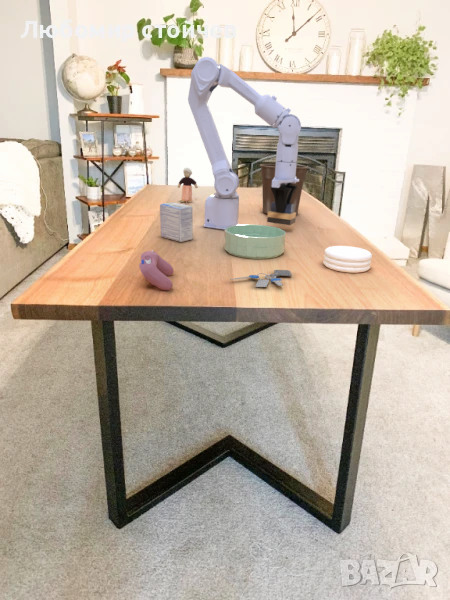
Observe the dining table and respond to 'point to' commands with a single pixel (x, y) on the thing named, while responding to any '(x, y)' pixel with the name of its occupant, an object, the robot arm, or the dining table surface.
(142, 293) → the dining table surface
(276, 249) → the bowl
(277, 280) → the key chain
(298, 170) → the plant pot
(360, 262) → the white round stacked piece
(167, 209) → the medicine box
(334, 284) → the dining table surface
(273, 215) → the brush
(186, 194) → the grandmother figurine
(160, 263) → the pink curved piece
